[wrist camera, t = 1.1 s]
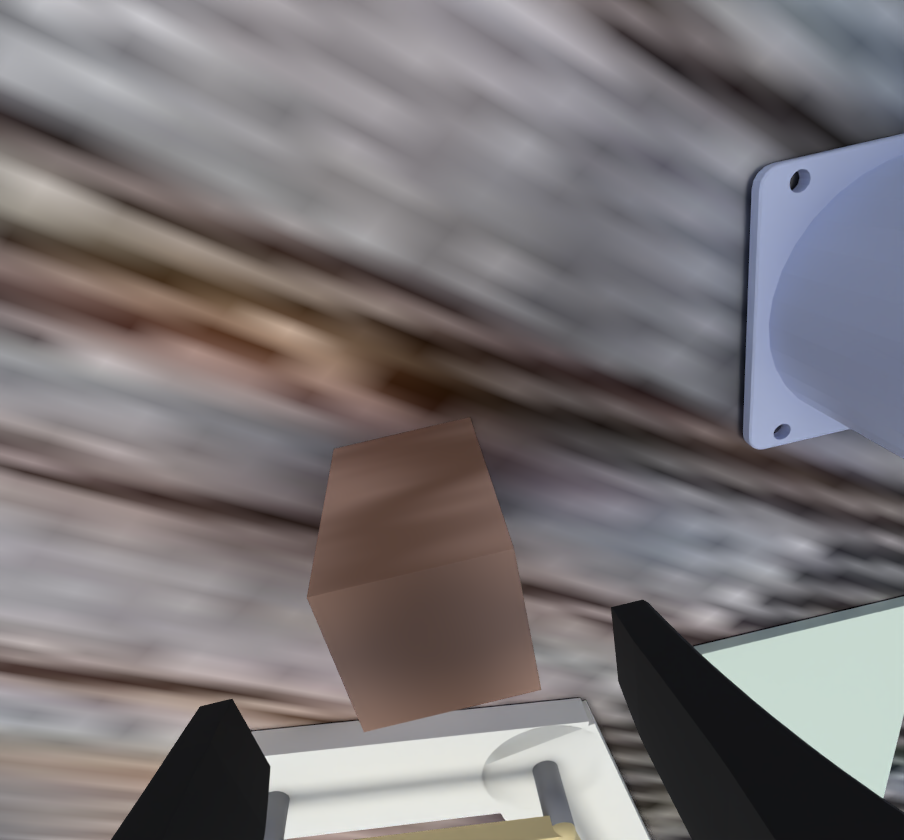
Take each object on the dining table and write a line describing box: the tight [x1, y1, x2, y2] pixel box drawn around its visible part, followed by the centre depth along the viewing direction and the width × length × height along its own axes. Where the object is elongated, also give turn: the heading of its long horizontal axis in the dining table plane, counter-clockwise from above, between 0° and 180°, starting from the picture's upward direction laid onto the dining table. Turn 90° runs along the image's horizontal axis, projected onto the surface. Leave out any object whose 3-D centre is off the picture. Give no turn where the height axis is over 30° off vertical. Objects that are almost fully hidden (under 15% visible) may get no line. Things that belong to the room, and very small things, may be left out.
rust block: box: [307, 417, 541, 732], centre depth 14 cm, size 4×4×6 cm
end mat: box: [694, 596, 904, 798], centre depth 25 cm, size 9×19×1 cm, turn 11°
